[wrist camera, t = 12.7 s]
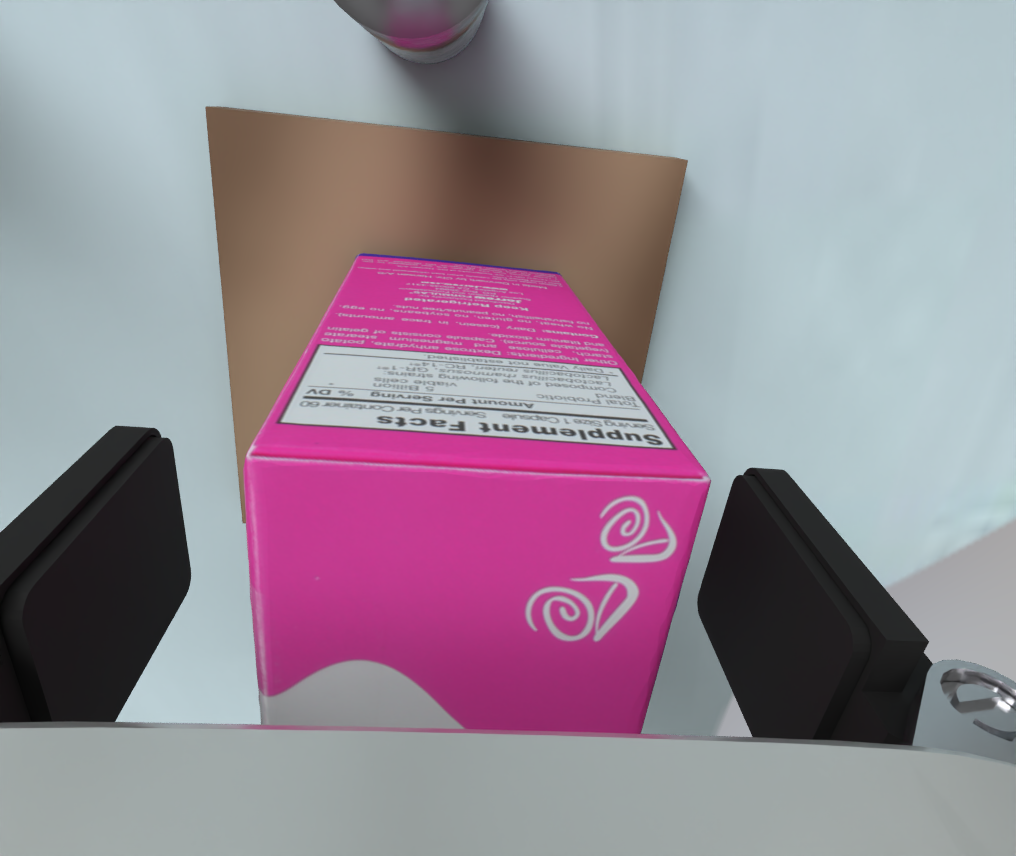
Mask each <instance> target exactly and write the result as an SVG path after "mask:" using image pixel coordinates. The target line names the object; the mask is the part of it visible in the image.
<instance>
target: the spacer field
mask: <svg viewBox="0 0 1016 856" xmlns="http://www.w3.org/2000/svg"><path fill="white" fill-rule="evenodd" d="M334 1H335V2H336V3H337V4H338V5H339V7H341V8H342V9H343V10H344V11H345V12H346V13H347V14H348V15H349V16H351V17H352V18H353V19H354V20H355V21H357V22H358V23H359V24H360V25H361V26H362V27H364V28H365V29H366V30H367V31H368V32H370V33H371V34H372V35H373V36H374V37H375V38H377V39H378V40H379V41H380V42H381V43H383V44H384V45H385V46H386V47H387V48H388V49H390V50H391V51H392V52H394V53H395V54H397V55H398V56H400V57H402V58H404V59H406V60H409V61H412V62H416V63H422V64H432V63H439V62H443V61H446V60H448V59H450V58H452V57H454V56H455V55H457V54H459V53H460V52H461V51H462V50H463V49H465V47H466V46H467V45H468V44H469V43H470V42H471V40H472V39H473V38H474V36H475V34H476V32H477V31H478V29H479V26H480V24H481V21H482V18H483V15H484V12H485V9H486V6H487V3H488V0H334Z"/></svg>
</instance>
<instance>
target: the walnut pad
mask: <svg viewBox="0 0 1016 856" xmlns="http://www.w3.org/2000/svg"><path fill="white" fill-rule="evenodd" d="M206 118H207V130H208V141H209V152H210V163H211V174H212V186H213V197H214V208H215V219H216V230H217V242H218V253H219V264H220V275H221V286H222V298H223V309H224V320H225V331H226V342H227V354H228V365H229V376H230V387H231V398H232V410H233V421H234V432H235V443H236V454H237V465H238V477H239V488H240V499H241V510H242V521H243V523H246V512H245V494H244V475H243V468H244V463H245V457H246V454H247V452H248V450H249V448H250V446H251V444H252V442H253V441H254V439H255V437H256V435H257V434H258V432H259V430H260V429H261V427H262V425H263V423H264V422H265V420H266V418H267V416H268V415H269V413H270V411H271V409H272V407H273V406H274V404H275V402H276V400H277V398H278V396H279V395H280V393H281V391H282V389H283V387H284V386H285V384H286V382H287V380H288V379H289V377H290V375H291V373H292V372H293V370H294V368H295V366H296V365H297V363H298V361H299V359H300V358H301V356H302V354H303V352H304V351H305V349H306V347H307V345H308V343H309V341H310V340H311V338H312V336H313V334H314V333H315V331H316V329H317V328H318V326H319V324H320V322H321V320H322V318H323V316H324V314H325V312H326V311H327V309H328V307H329V305H330V304H331V302H332V300H333V298H334V297H335V295H336V293H337V292H338V290H339V288H340V286H341V284H342V283H343V281H344V279H345V277H346V275H347V274H348V272H349V270H350V268H351V266H352V265H353V263H354V260H355V258H356V256H357V255H358V254H361V253H366V254H379V255H391V256H403V257H414V258H424V259H434V260H444V261H454V262H464V263H474V264H483V265H493V266H502V267H512V268H523V269H532V270H543V271H552V272H558V273H560V274H561V276H562V277H563V279H564V280H565V281H566V283H567V284H568V285H569V287H570V288H571V289H572V291H573V292H574V294H575V295H576V296H577V297H578V299H579V300H580V302H581V303H582V305H583V306H584V307H585V309H586V310H587V311H588V313H589V314H590V315H591V317H592V318H593V320H594V321H595V322H596V324H597V325H598V327H599V328H600V330H601V331H602V332H603V333H604V335H605V336H606V337H607V339H608V340H609V342H610V343H611V344H612V346H613V347H614V348H615V349H616V351H617V353H618V354H619V355H620V356H621V357H622V359H623V360H624V361H625V363H626V364H627V366H628V367H629V368H630V369H631V371H632V372H633V373H634V374H635V376H636V378H637V380H638V381H639V383H640V384H641V381H642V376H643V372H644V367H645V362H646V357H647V353H648V348H649V343H650V338H651V334H652V329H653V324H654V319H655V314H656V310H657V305H658V300H659V295H660V291H661V286H662V281H663V276H664V272H665V267H666V262H667V257H668V252H669V248H670V243H671V238H672V233H673V229H674V224H675V219H676V214H677V210H678V205H679V200H680V195H681V190H682V186H683V181H684V176H685V171H686V167H687V162H688V160H684V159H680V158H675V157H666V156H657V155H648V154H639V153H630V152H621V151H612V150H603V149H594V148H585V147H577V146H568V145H559V144H550V143H541V142H532V141H523V140H514V139H505V138H496V137H487V136H478V135H469V134H460V133H451V132H442V131H433V130H424V129H415V128H407V127H398V126H389V125H380V124H371V123H362V122H353V121H344V120H335V119H326V118H317V117H308V116H299V115H290V114H281V113H272V112H263V111H254V110H246V109H237V108H228V107H206Z"/></svg>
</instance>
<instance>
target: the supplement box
mask: <svg viewBox="0 0 1016 856" xmlns="http://www.w3.org/2000/svg"><path fill="white" fill-rule="evenodd" d="M243 475H244V494H245V512H246V531H247V548H248V559H249V574H250V598H251V606H252V616H253V632H254V642H255V654H256V667H257V679H258V688H259V704H260V712H261V725H306V726H358V727H400V728H442V729H483V730H521V731H560V732H596V733H628V734H640V733H641V730H642V727H643V723H644V719H645V716H646V712H647V709H648V705H649V701H650V698H651V694H652V691H653V687H654V684H655V680H656V676H657V673H658V669H659V666H660V662H661V658H662V655H663V651H664V647H665V644H666V640H667V636H668V632H669V629H670V625H671V621H672V618H673V615H674V612H675V609H676V606H677V602H678V598H679V594H680V590H681V586H682V583H683V579H684V576H685V573H686V569H687V566H688V562H689V559H690V555H691V552H692V548H693V544H694V541H695V537H696V534H697V530H698V527H699V523H700V519H701V516H702V512H703V509H704V505H705V502H706V498H707V494H708V490H709V487H710V483H711V480H710V478H709V476H708V474H707V473H706V471H705V470H704V469H703V467H702V466H701V465H700V463H699V462H698V461H697V459H696V458H695V457H694V455H693V454H692V453H691V451H690V450H689V449H688V447H687V446H686V445H685V443H684V442H683V441H682V439H681V438H680V437H679V435H678V434H677V432H676V431H675V430H674V428H673V427H672V426H671V424H670V423H669V421H668V420H667V419H666V417H665V416H664V415H663V413H662V412H661V411H660V409H659V408H658V406H657V405H656V404H655V402H654V401H653V399H652V398H651V397H650V396H649V394H648V393H647V392H646V390H645V389H644V388H643V386H642V385H641V384H640V383H639V381H638V380H637V378H636V376H635V374H634V373H633V372H632V371H631V369H630V368H629V367H628V366H627V364H626V363H625V361H624V360H623V359H622V357H621V356H620V355H619V354H618V353H617V351H616V349H615V348H614V347H613V346H612V344H611V343H610V342H609V340H608V339H607V337H606V336H605V335H604V333H603V332H602V331H601V330H600V328H599V327H598V325H597V324H596V322H595V321H594V320H593V318H592V317H591V315H590V314H589V313H588V311H587V310H586V309H585V307H584V306H583V305H582V303H581V302H580V300H579V299H578V297H577V296H576V295H575V294H574V292H573V291H572V289H571V288H570V287H569V285H568V284H567V283H566V281H565V280H564V279H563V277H562V276H561V274H560V273H558V272H552V271H543V270H532V269H523V268H512V267H502V266H493V265H483V264H474V263H464V262H454V261H444V260H434V259H424V258H414V257H403V256H391V255H379V254H366V253H361V254H358V255H357V256H356V258H355V260H354V263H353V265H352V266H351V268H350V270H349V272H348V274H347V275H346V277H345V279H344V281H343V283H342V284H341V286H340V288H339V290H338V292H337V293H336V295H335V297H334V298H333V300H332V302H331V304H330V305H329V307H328V309H327V311H326V312H325V314H324V316H323V318H322V320H321V322H320V324H319V326H318V328H317V329H316V331H315V333H314V334H313V336H312V338H311V340H310V341H309V343H308V345H307V347H306V349H305V351H304V352H303V354H302V356H301V358H300V359H299V361H298V363H297V365H296V366H295V368H294V370H293V372H292V373H291V375H290V377H289V379H288V380H287V382H286V384H285V386H284V387H283V389H282V391H281V393H280V395H279V396H278V398H277V400H276V402H275V404H274V406H273V407H272V409H271V411H270V413H269V415H268V416H267V418H266V420H265V422H264V423H263V425H262V427H261V429H260V430H259V432H258V434H257V435H256V437H255V439H254V441H253V442H252V444H251V446H250V448H249V450H248V452H247V454H246V457H245V463H244V468H243Z"/></svg>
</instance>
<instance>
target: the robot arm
mask: <svg viewBox="0 0 1016 856" xmlns="http://www.w3.org/2000/svg"><path fill="white" fill-rule="evenodd" d="M190 581H191V568H190V561H189V554H188V548H187V541H186V534H185V527H184V520H183V513H182V506H181V499H180V493H179V486H178V479H177V472H176V465H175V458H174V451H173V446H172V443H171V441H170V439H168V438H161V435H160V433H159V431H158V430H157V429H155V428H144V427H129V426H115V427H113V428H111V429H110V430H109V431H108V432H107V433H106V434H105V435H104V436H103V437H102V438H101V439H100V440H99V441H98V442H96V443H95V444H94V445H93V446H92V447H91V448H90V449H89V450H88V451H87V452H86V453H85V454H84V455H83V456H82V457H80V458H79V459H78V460H77V461H76V462H75V463H74V464H73V465H72V466H71V467H70V468H69V469H68V470H67V471H66V472H64V473H63V474H62V475H61V476H60V477H59V478H58V479H57V480H56V481H55V482H54V483H53V484H52V485H51V486H50V487H48V488H47V489H46V490H45V491H44V492H43V493H42V494H41V495H40V496H39V497H38V498H37V499H36V500H35V501H34V502H32V503H31V504H30V505H29V506H28V507H27V508H26V509H25V510H24V511H23V512H22V513H21V514H20V515H19V516H18V517H16V518H15V519H14V520H13V521H12V522H11V523H10V524H9V525H8V526H7V527H6V528H5V529H4V530H3V531H2V532H0V856H1016V683H1015V682H1014V681H1012V680H1011V679H1009V678H1007V677H1005V676H1003V675H1001V674H999V673H998V672H996V671H994V670H991V669H988V668H986V667H983V666H981V665H978V664H975V663H971V662H965V661H961V660H942V661H939V662H937V663H935V664H932V662H931V661H930V660H929V659H928V657H927V656H926V655H925V654H924V650H925V648H926V647H927V644H928V643H929V641H928V640H927V639H926V638H925V636H924V635H923V634H922V633H921V632H920V630H919V629H918V628H917V627H916V626H915V624H914V623H913V622H912V621H911V620H910V618H909V617H908V616H907V615H906V614H905V612H903V610H902V609H901V608H900V606H899V605H898V604H897V603H896V602H895V601H894V599H893V598H892V597H891V596H890V595H889V593H888V592H887V591H886V590H885V589H884V587H883V586H882V585H881V584H880V583H879V581H878V580H877V579H876V578H875V577H874V575H873V574H872V573H871V572H870V571H869V570H868V568H867V567H866V566H865V565H864V564H863V562H862V561H861V560H860V559H859V558H858V556H857V555H856V554H855V553H854V552H853V550H852V549H851V548H850V547H849V546H848V545H847V543H846V542H845V541H844V540H843V539H842V537H841V536H840V535H839V534H838V533H837V531H836V530H835V529H834V528H833V527H832V525H831V524H830V523H829V522H828V521H827V520H826V518H825V517H824V516H823V515H822V514H821V512H820V511H819V510H818V509H817V508H816V506H815V505H814V504H813V503H812V502H811V500H810V499H809V498H808V497H807V496H806V494H805V493H804V492H803V491H802V490H801V489H800V487H799V486H798V485H797V484H796V483H795V481H794V480H793V479H792V478H791V477H790V475H789V474H788V473H787V472H786V471H784V470H778V469H763V468H749V469H747V470H746V472H745V473H744V475H738V476H737V477H736V478H735V479H734V481H733V484H732V487H731V490H730V493H729V497H728V500H727V503H726V506H725V510H724V513H723V516H722V519H721V523H720V526H719V529H718V532H717V536H716V539H715V542H714V545H713V549H712V552H711V555H710V558H709V562H708V565H707V568H706V571H705V575H704V578H703V581H702V584H701V588H700V591H699V594H698V602H697V604H698V613H699V616H700V619H701V621H702V623H703V625H704V628H705V630H706V632H707V634H708V637H709V639H710V641H711V644H712V646H713V648H714V650H715V653H716V655H717V657H718V659H719V662H720V664H721V666H722V668H723V671H724V673H725V675H726V678H727V680H728V682H729V684H730V687H731V689H732V691H733V693H734V696H735V698H736V700H737V702H738V705H739V707H740V709H741V712H742V714H743V716H744V718H745V720H746V723H747V725H748V727H749V730H750V732H751V734H752V736H753V737H726V736H693V735H661V734H628V733H596V732H560V731H521V730H483V729H442V728H400V727H358V726H306V725H254V724H202V723H145V722H115V721H116V719H117V717H118V715H119V713H120V712H121V710H122V708H123V706H124V705H125V703H126V701H127V699H128V697H129V696H130V694H131V692H132V690H133V689H134V687H135V685H136V683H137V682H138V680H139V678H140V676H141V674H142V673H143V671H144V669H145V667H146V666H147V664H148V662H149V660H150V658H151V657H152V655H153V653H154V651H155V650H156V648H157V646H158V644H159V642H160V641H161V639H162V637H163V635H164V634H165V632H166V630H167V628H168V626H169V625H170V623H171V621H172V619H173V618H174V616H175V614H176V612H177V610H178V609H179V607H180V605H181V603H182V602H183V600H184V598H185V596H186V594H187V592H188V589H189V586H190Z"/></svg>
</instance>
